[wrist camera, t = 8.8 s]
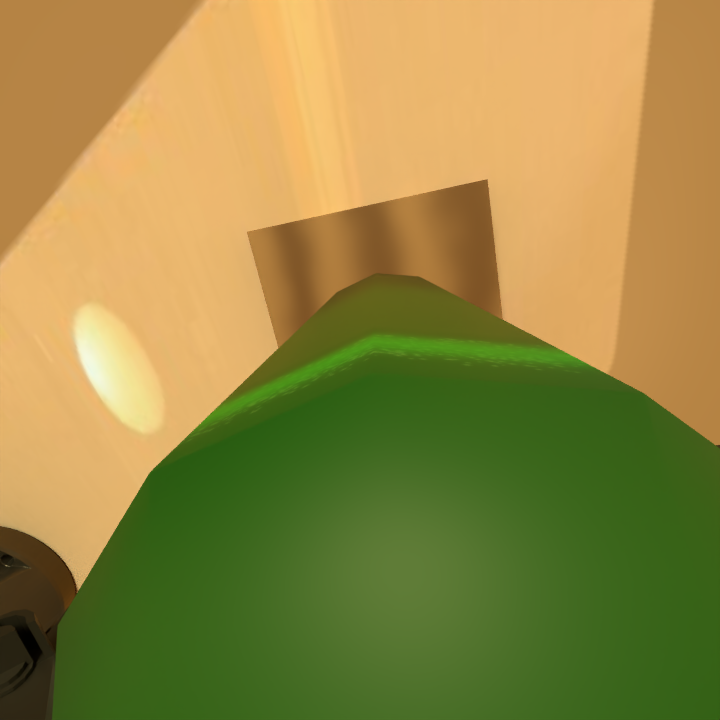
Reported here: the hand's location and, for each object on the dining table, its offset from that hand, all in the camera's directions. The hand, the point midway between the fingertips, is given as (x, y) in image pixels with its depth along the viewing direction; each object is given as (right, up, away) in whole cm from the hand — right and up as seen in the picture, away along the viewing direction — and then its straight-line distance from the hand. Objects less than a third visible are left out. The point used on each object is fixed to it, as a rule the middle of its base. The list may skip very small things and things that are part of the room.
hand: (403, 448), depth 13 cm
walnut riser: (+1, +7, +24) cm, 25 cm away
